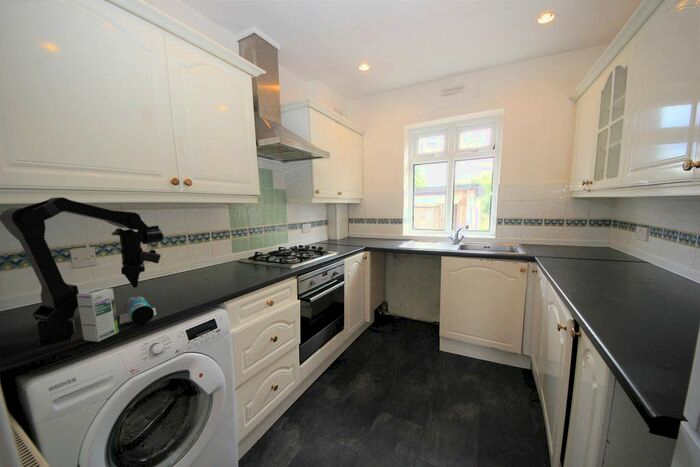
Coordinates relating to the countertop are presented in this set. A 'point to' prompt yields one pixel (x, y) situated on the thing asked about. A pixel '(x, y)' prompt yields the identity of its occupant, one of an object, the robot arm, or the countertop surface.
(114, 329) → the syrup box
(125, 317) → the mat
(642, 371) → the countertop surface
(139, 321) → the teal labeled canister
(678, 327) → the countertop surface
